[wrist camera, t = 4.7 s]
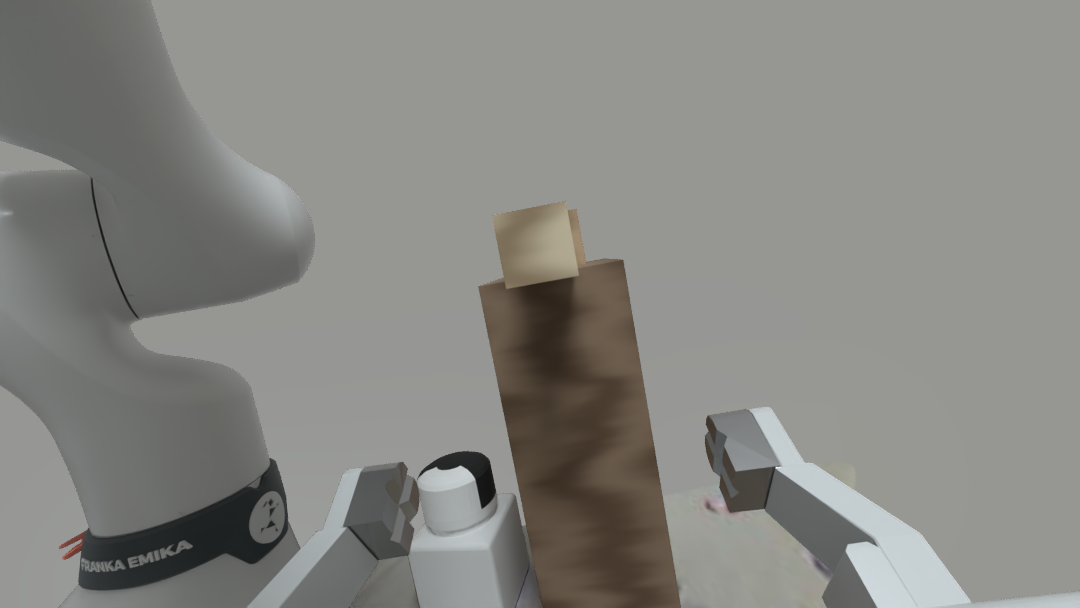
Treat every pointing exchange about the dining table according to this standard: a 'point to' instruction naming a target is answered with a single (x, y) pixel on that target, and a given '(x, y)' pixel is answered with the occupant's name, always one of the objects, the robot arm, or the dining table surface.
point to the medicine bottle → (467, 537)
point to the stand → (582, 439)
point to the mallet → (539, 244)
